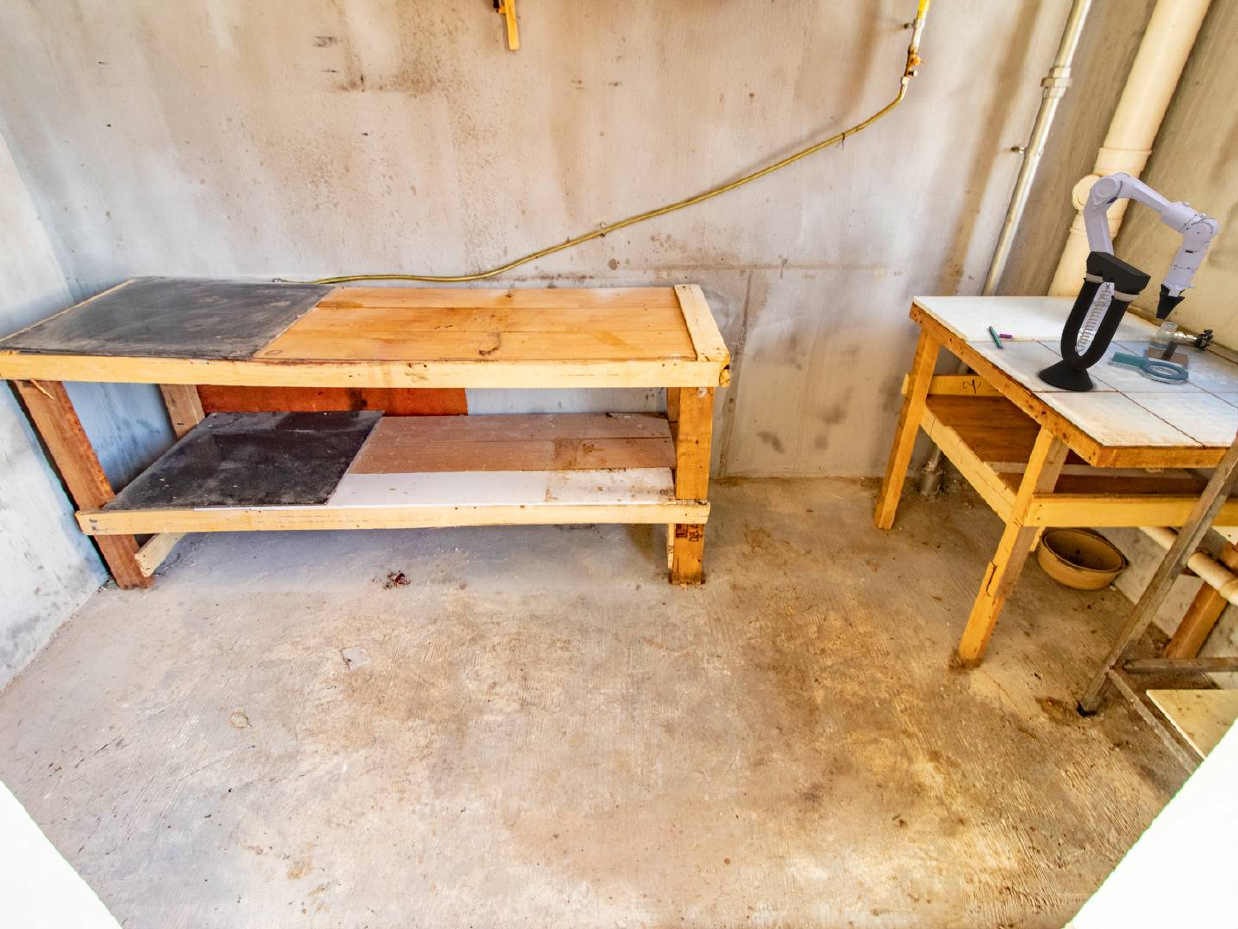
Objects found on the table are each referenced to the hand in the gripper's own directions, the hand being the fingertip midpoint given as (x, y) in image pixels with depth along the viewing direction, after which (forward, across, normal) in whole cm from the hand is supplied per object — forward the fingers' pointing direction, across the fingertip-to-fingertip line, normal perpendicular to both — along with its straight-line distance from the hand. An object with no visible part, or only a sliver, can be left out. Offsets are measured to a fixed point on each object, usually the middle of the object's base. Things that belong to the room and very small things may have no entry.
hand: (1160, 314), depth 182 cm
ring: (+9, -21, -1) cm, 23 cm away
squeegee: (+9, -21, +34) cm, 41 cm away
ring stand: (+9, -8, -5) cm, 13 cm away
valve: (+10, +4, -7) cm, 13 cm away
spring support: (+10, -40, +16) cm, 44 cm away
